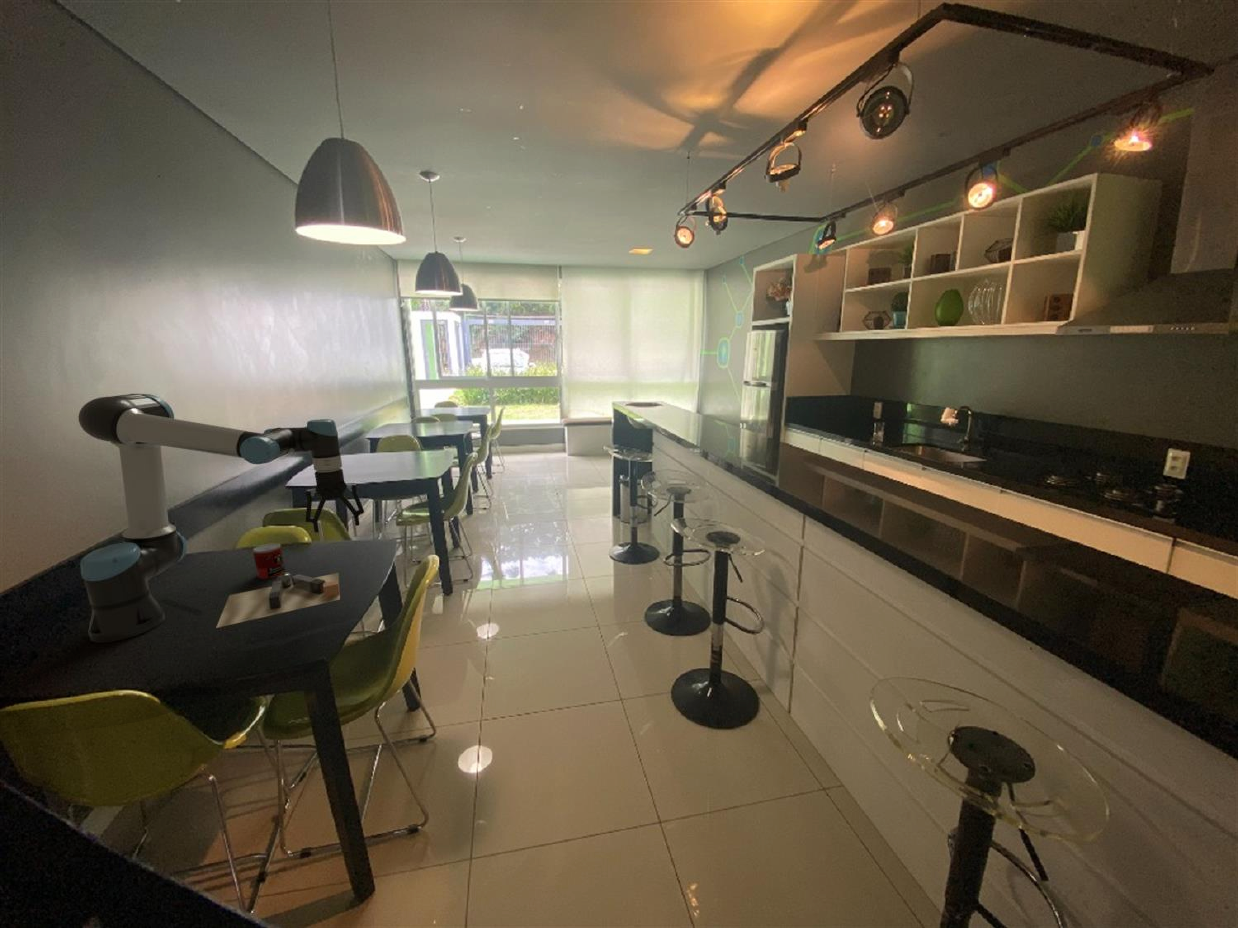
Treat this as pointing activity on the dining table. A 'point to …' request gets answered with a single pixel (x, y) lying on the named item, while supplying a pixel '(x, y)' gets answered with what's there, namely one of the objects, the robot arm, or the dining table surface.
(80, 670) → the dining table surface
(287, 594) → the board
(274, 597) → the tongs fixed
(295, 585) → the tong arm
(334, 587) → the orange block
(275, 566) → the canned food
